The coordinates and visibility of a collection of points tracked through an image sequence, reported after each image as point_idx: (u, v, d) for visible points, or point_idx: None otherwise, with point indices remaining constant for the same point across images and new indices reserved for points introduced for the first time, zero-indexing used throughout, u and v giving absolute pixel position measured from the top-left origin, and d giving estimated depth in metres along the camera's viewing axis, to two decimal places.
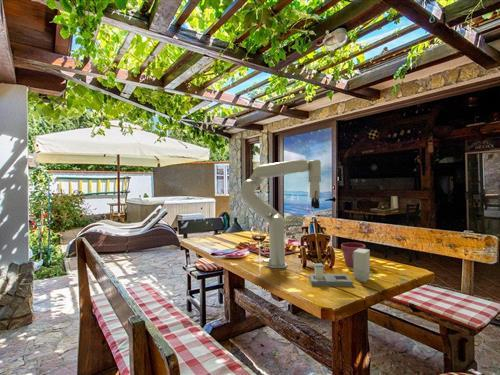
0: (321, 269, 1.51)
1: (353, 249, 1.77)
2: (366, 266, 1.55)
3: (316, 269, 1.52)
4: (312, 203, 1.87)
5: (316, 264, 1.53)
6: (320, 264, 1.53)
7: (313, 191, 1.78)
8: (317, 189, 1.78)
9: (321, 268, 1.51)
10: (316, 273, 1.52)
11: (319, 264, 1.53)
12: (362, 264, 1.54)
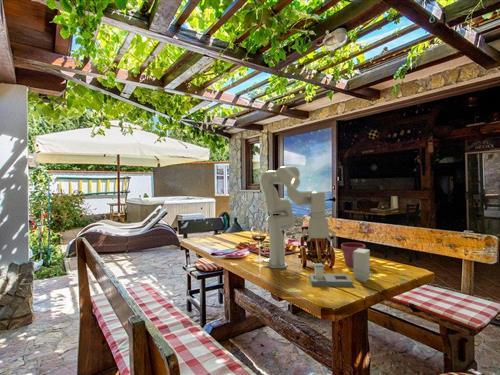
0: (321, 269, 1.51)
1: (353, 249, 1.77)
2: (366, 266, 1.55)
3: (316, 269, 1.52)
4: None
5: (316, 264, 1.53)
6: (320, 264, 1.53)
7: (328, 229, 1.51)
8: None
9: (321, 268, 1.51)
10: (316, 273, 1.52)
11: (319, 264, 1.53)
12: (362, 264, 1.54)
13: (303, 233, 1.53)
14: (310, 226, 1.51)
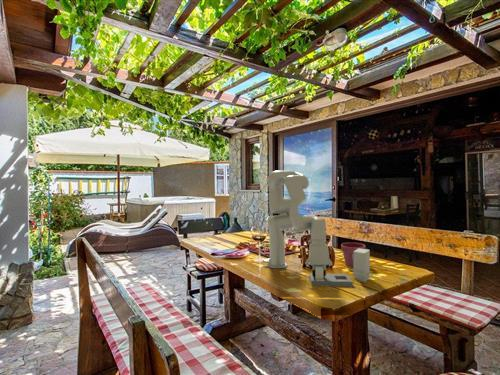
0: (321, 269, 1.51)
1: (353, 249, 1.77)
2: (366, 266, 1.55)
3: (316, 269, 1.52)
4: None
5: None
6: None
7: None
8: None
9: (321, 268, 1.51)
10: (316, 273, 1.52)
11: None
12: (362, 264, 1.54)
13: (307, 263, 1.53)
14: (310, 253, 1.51)
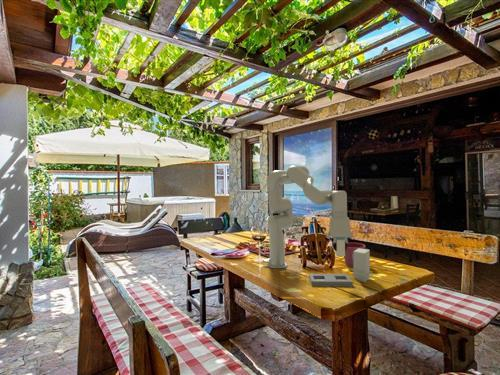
0: (342, 242, 1.50)
1: (353, 249, 1.77)
2: (366, 266, 1.55)
3: (337, 242, 1.50)
4: None
5: None
6: None
7: None
8: None
9: (342, 241, 1.50)
10: (337, 245, 1.50)
11: None
12: (362, 264, 1.54)
13: (327, 236, 1.52)
14: (331, 225, 1.50)
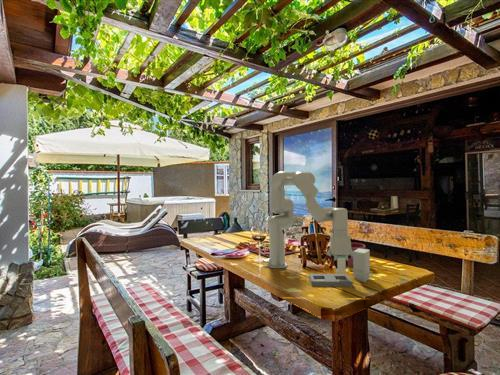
0: (343, 259, 1.50)
1: (353, 249, 1.77)
2: (366, 266, 1.55)
3: (338, 259, 1.50)
4: None
5: None
6: None
7: None
8: None
9: (343, 258, 1.50)
10: (338, 263, 1.50)
11: None
12: (362, 264, 1.54)
13: (328, 253, 1.52)
14: (332, 243, 1.50)
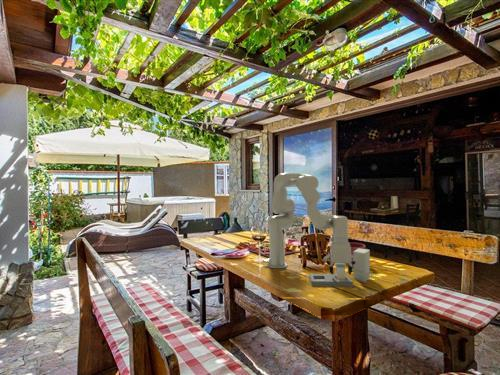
0: (343, 269, 1.50)
1: (353, 249, 1.77)
2: (366, 266, 1.55)
3: (338, 269, 1.51)
4: (332, 269, 1.52)
5: (337, 264, 1.52)
6: (342, 264, 1.52)
7: (351, 254, 1.50)
8: None
9: (343, 268, 1.50)
10: (338, 273, 1.51)
11: (341, 264, 1.52)
12: (362, 264, 1.54)
13: (325, 258, 1.52)
14: (332, 251, 1.50)
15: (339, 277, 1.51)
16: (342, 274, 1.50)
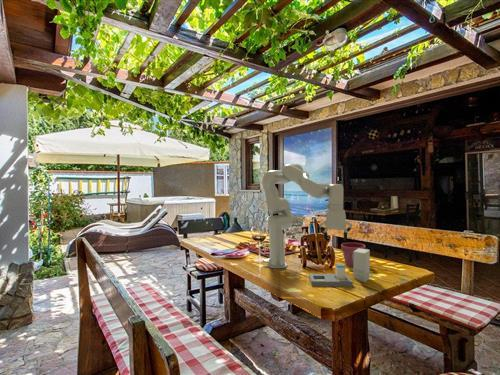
0: (343, 269, 1.50)
1: (353, 249, 1.77)
2: (366, 266, 1.55)
3: (338, 269, 1.51)
4: None
5: (337, 264, 1.52)
6: (342, 264, 1.52)
7: (345, 221, 1.54)
8: None
9: (343, 268, 1.50)
10: (338, 273, 1.51)
11: (341, 264, 1.52)
12: (362, 264, 1.54)
13: (320, 224, 1.57)
14: (328, 217, 1.54)
15: (339, 277, 1.51)
16: (342, 274, 1.50)
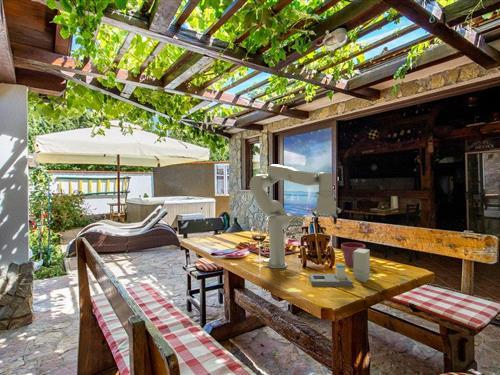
0: (343, 269, 1.50)
1: (353, 249, 1.77)
2: (366, 266, 1.55)
3: (338, 269, 1.51)
4: None
5: (337, 264, 1.52)
6: (342, 264, 1.52)
7: None
8: None
9: (343, 268, 1.50)
10: (338, 273, 1.51)
11: (341, 264, 1.52)
12: (362, 264, 1.54)
13: (312, 210, 1.68)
14: (318, 203, 1.66)
15: (339, 277, 1.51)
16: (342, 274, 1.50)
